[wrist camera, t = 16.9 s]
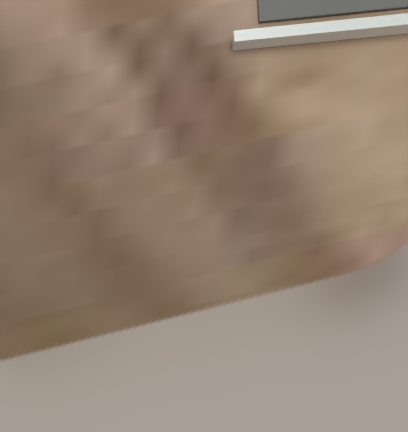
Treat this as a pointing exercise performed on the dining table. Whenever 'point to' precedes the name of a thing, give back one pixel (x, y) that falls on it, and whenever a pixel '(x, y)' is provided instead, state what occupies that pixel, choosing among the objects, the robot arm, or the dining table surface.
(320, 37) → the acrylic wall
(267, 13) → the mat
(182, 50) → the dining table surface
